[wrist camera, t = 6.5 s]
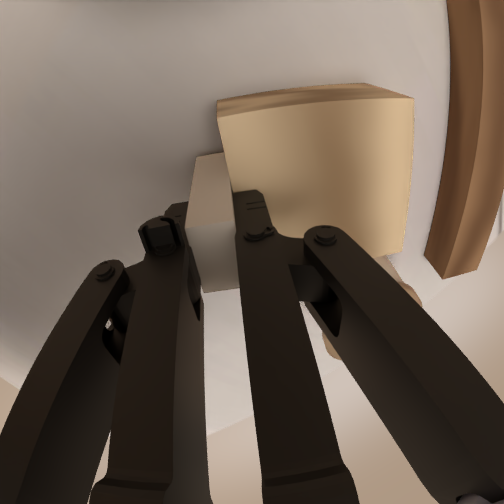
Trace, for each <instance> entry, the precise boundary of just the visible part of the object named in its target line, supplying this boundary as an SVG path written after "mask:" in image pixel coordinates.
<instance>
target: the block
mask: <svg viewBox="0 0 504 504" xmlns="http://www.w3.org/2000/svg"><path fill="white" fill-rule="evenodd" d="M217 122H218V126H219V131H220V135H221V140H222V145H223V149H224V154H225V158H226V163H227V167H228V172H229V177H230V181H231V186H232V190H233V193H236V192H242V191H249V190H255V189H256V190H258V191H259V192H261V193H262V194H263V196H264V199H265V202H266V205H267V209H268V212H269V215H270V218H271V222H272V225H273V226H274V227H275V228H276V229H277V231H278V233H279V234H281V235H284V236H287V237H293V238H304V233H305V232H306V231H307V230H308V229H310V228H312V227H314V226H319V225H331V226H334V227H338V228H340V229H341V230H343V231H344V232H345V233H347V234H348V235H349V236H350V237H351V238H352V239H353V240H354V241H355V242H356V243H357V244H358V245H359V246H361V247H362V248H363V249H364V250H365V251H366V252H367V253H368V254H369V255H370V256H371V257H372V258H376V257H380V256H384V255H389V254H393V253H397V252H401V251H402V247H403V240H404V234H405V227H406V220H407V213H408V204H409V196H410V186H411V174H412V161H413V141H414V98H412V97H409V96H406V95H403V94H400V93H397V92H393V91H390V90H387V89H384V88H380V87H377V86H373V85H370V84H366V83H356V84H335V85H321V86H309V87H299V88H290V89H282V90H275V91H268V92H261V93H255V94H249V95H243V96H238V97H232V98H227V99H222V100H217Z"/></svg>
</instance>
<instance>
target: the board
mask: <svg viewBox="0 0 504 504" xmlns="http://www.w3.org/2000/svg"><path fill="white" fill-rule="evenodd" d="M447 7H448V17H449V30H450V52H451V84H450V106H449V120H448V131H447V141H446V149H445V156H444V164H443V170H442V176H441V182H440V188H439V193H438V198H437V203H436V208H435V213H434V217H433V222H432V226H431V230H430V234H429V238H428V242H427V246H426V250H425V253H424V256H425V257H426V259H427V260H428V261H429V262H430V264H431V265H432V266H433V268H434V269H435V270H436V272H437V273H438V274H439V276H440V277H441V278H442V280H443V279H446V278H450V277H454V276H457V275H461V274H464V273H468V272H471V271H474V270H477V268H478V266H479V263H480V261H481V258H482V255H483V253H484V250H485V247H486V245H487V242H488V239H489V236H490V233H491V230H492V227H493V224H494V221H495V218H496V215H497V211H498V208H499V204H500V201H501V197H502V193H503V189H504V0H447Z"/></svg>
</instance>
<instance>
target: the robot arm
mask: <svg viewBox="0 0 504 504" xmlns="http://www.w3.org/2000/svg"><path fill="white" fill-rule="evenodd" d="M138 233H139V236H140V238H141V241H142V244H143V246H144V249H145V251H146V254H145V257H144V260H143V261H141V262H139V263H137V264H135V265H132V266H130V267H127V268H125V267H124V265H123V263H122V262H120V261H119V260H107V261H104V262H102V263H100V264H99V265H97V266H96V267H94V268H93V269H92V271H91V272H90V273H89V274H88V276H87V277H86V279H85V280H84V282H83V283H82V284H81V286H80V287H79V289H78V290H77V292H76V293H75V295H74V297H73V298H72V300H71V301H70V303H69V304H68V306H67V307H66V309H65V311H64V312H63V314H62V315H61V317H60V319H59V320H58V322H57V324H56V325H55V327H54V329H53V330H52V332H51V334H50V335H49V337H48V339H47V340H46V342H45V344H44V346H43V347H42V349H41V351H40V353H39V355H38V357H37V358H36V360H35V362H34V364H33V366H32V368H31V370H30V371H29V373H28V375H27V377H26V379H25V381H24V383H23V385H22V387H21V389H20V391H19V394H18V396H17V398H16V400H15V402H14V404H13V406H12V409H11V411H10V413H9V415H8V418H7V420H6V422H5V425H4V427H3V429H2V432H1V434H0V504H87V502H88V499H89V495H90V500H89V504H213V502H212V500H211V496H210V490H209V476H208V461H207V442H206V419H205V388H204V303H203V299H202V296H201V293H200V292H201V286H202V289H203V292H204V293H208V292H215V291H222V290H229V289H235V288H240V296H241V306H242V315H243V324H244V333H245V342H246V351H247V360H248V368H249V377H250V385H251V394H252V402H253V410H254V418H255V427H256V434H257V442H258V450H259V458H260V465H261V474H262V498H263V504H360V503H359V500H358V495H357V491H356V487H355V484H354V480H353V478H352V476H351V473H350V471H349V470H348V468H347V467H346V466H345V464H344V463H343V460H342V458H341V454H340V450H339V446H338V442H337V439H336V435H335V431H334V427H333V423H332V419H331V415H330V411H329V407H328V404H327V400H326V396H325V392H324V388H323V385H322V381H321V377H320V374H319V370H318V366H317V363H316V359H315V356H314V352H313V348H312V345H311V341H310V338H309V334H308V331H307V327H306V324H305V320H304V317H303V313H302V310H301V307H300V303H299V301H304V303H305V306H306V307H307V309H308V310H309V312H310V313H311V315H312V316H313V318H314V319H315V321H316V322H317V324H318V325H319V327H320V328H321V330H322V331H323V333H324V334H325V336H326V337H327V339H328V340H329V342H330V343H331V345H332V346H333V348H334V349H335V351H336V352H337V353H338V355H339V356H340V358H341V359H342V361H343V362H344V364H345V365H346V367H347V368H348V370H349V372H350V373H351V375H352V376H353V378H354V379H355V381H356V382H357V383H358V385H359V386H360V388H361V389H362V391H363V393H364V394H365V395H366V397H367V399H368V400H369V402H370V403H371V405H372V406H373V408H374V409H375V411H376V412H377V414H378V416H379V417H380V419H381V420H382V422H383V423H384V425H385V426H386V428H387V429H388V431H389V432H390V434H391V435H392V437H393V439H394V440H395V442H396V443H397V445H398V446H399V448H400V449H401V451H402V452H403V454H404V456H405V457H406V459H407V460H408V462H409V463H410V465H411V467H412V468H413V470H414V471H415V473H416V474H417V476H418V478H419V479H420V481H421V482H422V483H423V485H424V486H425V487H426V489H427V490H428V492H429V493H430V494H431V496H432V497H433V498H434V499H435V500H436V501H437V502H438V503H439V504H504V403H503V402H502V401H501V399H500V398H499V397H498V395H497V394H496V393H495V392H494V390H493V389H492V388H491V386H490V385H489V384H488V383H487V382H486V380H485V379H484V378H483V376H482V375H480V373H479V372H478V370H477V369H476V368H475V367H474V366H473V364H472V363H471V362H470V361H469V360H468V358H467V357H466V356H465V355H464V354H463V353H462V352H461V350H460V349H459V348H458V347H457V346H456V344H455V343H454V342H453V341H452V340H451V339H450V338H449V337H448V335H447V334H446V333H445V332H444V331H443V330H442V329H441V328H440V327H439V325H438V324H437V323H436V322H435V321H434V320H433V319H432V318H431V317H430V316H429V315H428V314H427V313H426V312H425V310H424V309H423V308H422V307H421V306H420V305H419V304H418V303H417V302H416V301H415V300H414V299H413V298H412V297H411V296H410V295H409V294H408V293H407V292H406V291H405V290H404V288H403V287H402V286H401V285H400V284H399V283H398V282H397V281H396V280H395V279H394V278H393V277H392V276H391V275H390V274H389V273H388V272H387V271H386V270H385V269H383V268H382V267H381V266H380V265H379V264H378V263H377V262H376V261H375V260H374V259H373V258H372V257H371V256H370V255H369V254H368V253H367V252H366V251H365V250H364V249H363V248H362V247H361V246H359V245H358V244H357V243H356V242H355V241H354V240H353V239H352V238H351V237H350V236H349V235H348V234H347V233H345V232H344V231H343V230H341V229H340V228H338V227H334V226H331V225H319V226H314V227H312V228H310V229H308V230H307V231H306V232H305V233H304V238H293V237H287V236H284V235H281V234H279V233H278V231H277V229H276V228H275V227H274V226H273V225H272V222H271V218H270V215H269V212H268V209H267V205H266V202H265V199H264V196H263V194H262V193H261V192H259V191H258V190H256V189H255V190H249V191H242V192H236V193H233V190H232V186H231V181H230V177H229V172H228V167H227V163H226V158H225V154H224V152H222V153H216V154H210V155H205V156H199V157H197V158H196V163H195V168H194V174H193V180H192V185H191V191H190V197H189V201H188V202H182V203H177V204H172V205H171V206H170V207H169V208H168V209H167V210H166V211H165V214H164V216H159V217H155V218H152V219H150V220H148V221H146V222H145V223H144V224H143V225H141V226H140V228H139V230H138ZM108 320H110V321H111V325H110V327H109V328H108V329H107V328H106V327H105V325H106V323H107V321H108ZM110 430H111V434H110V445H109V456H108V468H107V473H106V475H105V477H104V478H103V479H101V480H100V481H98V482H97V483H95V485H94V487H93V488H92V485H93V482H94V479H95V475H96V472H97V469H98V466H99V463H100V460H101V456H102V454H103V451H104V447H105V445H106V442H107V439H108V436H109V433H110ZM91 489H92V490H91ZM90 492H91V494H90Z"/></svg>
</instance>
